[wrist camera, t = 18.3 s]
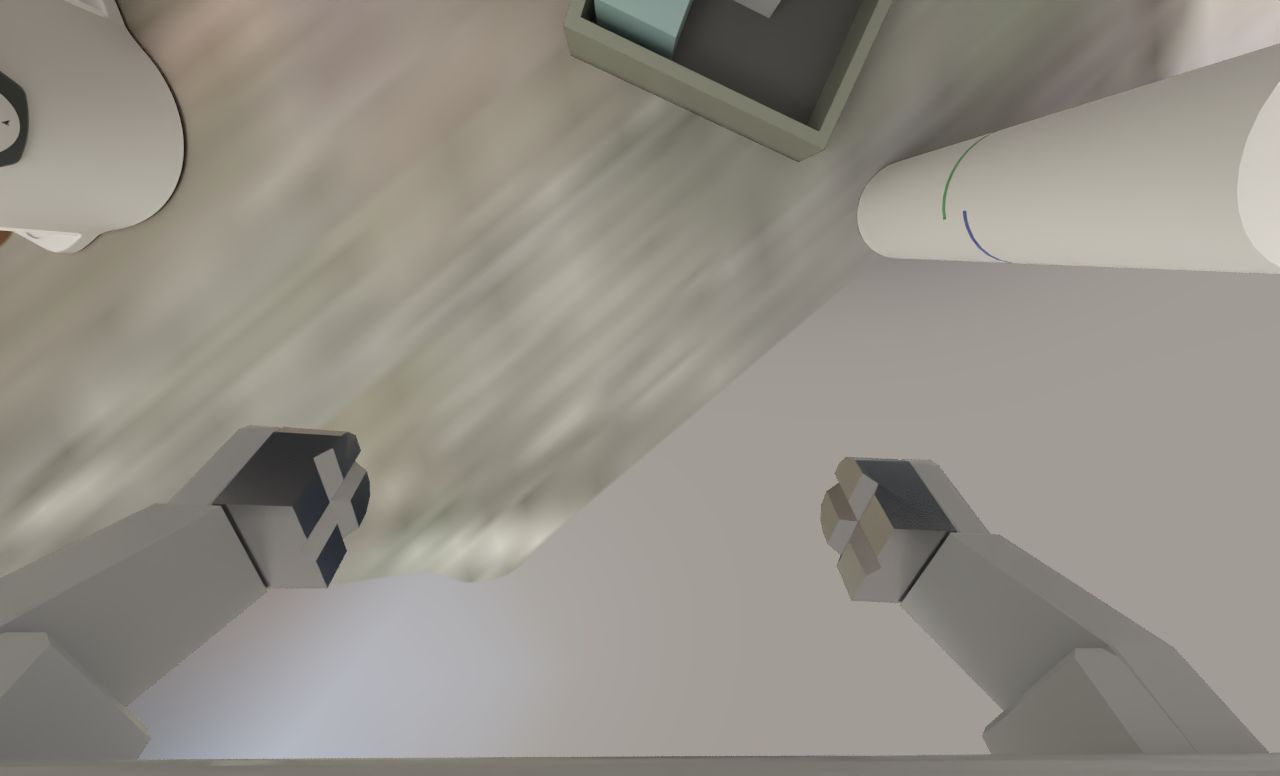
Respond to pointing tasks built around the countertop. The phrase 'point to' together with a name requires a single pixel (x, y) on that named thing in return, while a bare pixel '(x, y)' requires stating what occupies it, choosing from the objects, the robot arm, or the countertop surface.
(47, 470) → the countertop surface
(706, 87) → the grey open box
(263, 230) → the countertop surface
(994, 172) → the cylindrical container
